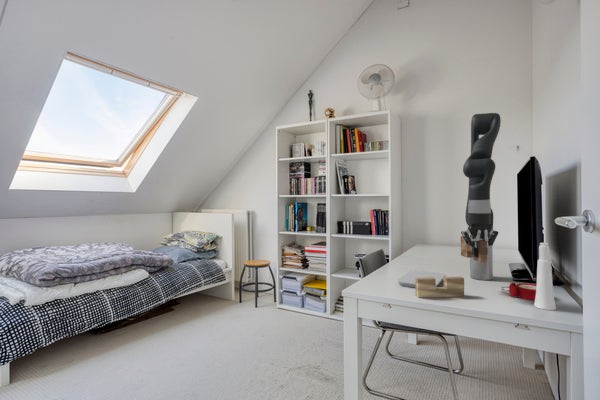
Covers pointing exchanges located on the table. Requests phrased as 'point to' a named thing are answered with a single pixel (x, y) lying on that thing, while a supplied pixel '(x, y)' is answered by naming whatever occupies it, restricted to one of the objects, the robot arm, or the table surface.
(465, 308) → the table surface
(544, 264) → the cosmetic bottle
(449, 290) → the oak slotted rail
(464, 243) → the walnut cross plate
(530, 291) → the alarm clock
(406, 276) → the tablet
